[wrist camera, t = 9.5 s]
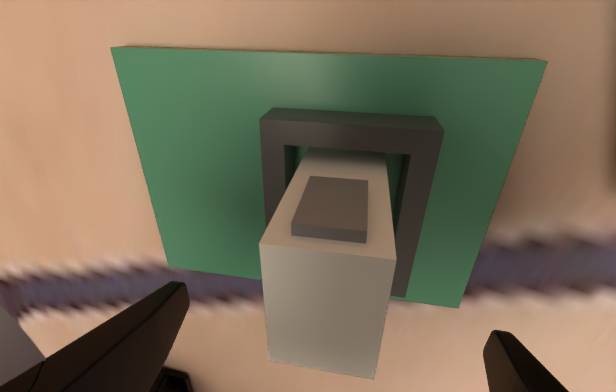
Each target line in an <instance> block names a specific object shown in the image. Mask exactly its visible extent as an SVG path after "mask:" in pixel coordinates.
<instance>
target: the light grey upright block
mask: <svg viewBox="0 0 616 392" xmlns="http://www.w3.org/2000/svg"><path fill="white" fill-rule="evenodd" d="M259 250H260V261H261V272H262V284H263V295H264V306H265V317H266V328H267V340H268V351H269V361H272V362H277V363H283V364H289V365H294V366H300V367H306V368H311V369H317V370H322V371H328V372H334V373H339V374H345V375H351V376H356V377H362V378H368V379H373V380H374V378H375V372H376V367H377V362H378V356H379V351H380V346H381V340H382V335H383V330H384V324H385V319H386V314H387V308H388V303H389V298H390V292H391V287H392V282H393V276H394V271H395V266H396V260H397V258H396V249H395V240H394V231H393V222H392V213H391V204H390V194H389V185H388V176H387V167H386V158H385V153H383V152H370V151H357V150H344V149H331V148H318V147H308V149H307V151H306V153H305V155H304V157H303V159H302V161H301V162H300V164H299V166H298V168H297V170H296V172H295V174H294V176H293V178H292V180H291V182H290V184H289V186H288V188H287V190H286V192H285V194H284V196H283V198H282V199H281V201H280V203H279V205H278V207H277V209H276V211H275V213H274V215H273V217H272V219H271V221H270V223H269V225H268V227H267V229H266V231H265V233H264V235H263V236H262V238H261V240H260V242H259Z"/></svg>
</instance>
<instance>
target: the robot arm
mask: <svg viewBox="0 0 616 392" xmlns="http://www.w3.org/2000/svg"><path fill="white" fill-rule="evenodd" d="M189 304H190V300H189V296H188V291H187V287H186V284H185V283H183V282H178V281H171V282H169V283H167V284H165V285H164V286H162V287H161V288H159V289H157V290H156V291H154V292H153V293H151V294H149V295H148V296H146V297H144V298H143V299H141V300H140V301H138V302H136V303H135V304H133V305H132V306H130V307H128V308H127V309H125V310H123V311H122V312H120V313H119V314H117V315H115V316H114V317H112V318H111V319H109V320H107V321H106V322H104V323H102V324H101V325H99V326H98V327H96V328H94V329H93V330H91V331H90V332H88V333H86V334H85V335H83V336H81V337H80V338H78V339H77V340H75V341H73V342H72V343H70V344H69V345H67V346H65V347H64V348H62V349H60V350H59V351H57V352H56V353H54V354H52V355H51V356H49V357H47V358H46V359H45V361H41V362H39V363H38V364H36V365H34V366H33V367H31V368H30V369H28V370H26V371H25V372H23V373H21V374H20V375H18V376H16V377H15V378H13V379H11V380H10V381H8V382H6V383H5V384H3V385H2V386H0V392H192V389H191V385H190V382H189V379H188V376H187V375H185V374H183V373H179V372H174V371H169V370H164V369H161V368H162V366H163V364H164V362H165V360H166V359H167V357H168V355H169V352H170V350H171V348H172V346H173V343H174V341H175V339H176V336H177V334H178V332H179V329H180V327H181V325H182V322H183V320H184V318H185V315H186V313H187V311H188V308H189ZM483 357H484V363H485V369H486V374H487V380H488V386H489V391H490V392H569V391H568V390H567V389H566V388H565V387H564V386H563V385H562V384H561V383H560V382H559V381H558V380H557V379H556V378H555V377H554V376H553V375H552V374H551V373H550V372H549V371H548V370H547V369H546V368H545V367H544V366H543V365H542V364H541V363H540V362H539V361H538V360H537V359H536V358H535V357H534V356H533V355H532V354H531V353H530V352H529V351H528V350H527V349H526V347H525V346H524V345H523V344H522V343H521V342H520V341H519V340H518V339H517V338H516V337H515V336H514V335H513V334H511V333H510V332H506V331H500V330H493V331H492V332H491V334H490V336H489V338H488V340H487V343H486V345H485V347H484V350H483Z"/></svg>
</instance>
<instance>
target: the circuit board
mask: <svg viewBox="0 0 616 392" xmlns="http://www.w3.org/2000/svg"><path fill="white" fill-rule="evenodd" d="M110 49H111V53H112V56H113V60H114V64H115V67H116V71H117V75H118V79H119V82H120V86H121V90H122V94H123V97H124V101H125V105H126V109H127V112H128V116H129V120H130V123H131V127H132V131H133V135H134V138H135V142H136V146H137V150H138V153H139V157H140V161H141V165H142V168H143V172H144V176H145V179H146V183H147V187H148V191H149V194H150V198H151V202H152V206H153V209H154V213H155V217H156V221H157V224H158V228H159V232H160V235H161V239H162V243H163V247H164V250H165V254H166V258H167V262H168V265H169V267H174V268H181V269H188V270H195V271H202V272H209V273H216V274H223V275H230V276H237V277H244V278H250V279H257V280H262V272H261V261H260V250H259V242H260V240H261V238H262V236H263V235H264V233H265V231H266V229H267V227H268V225H269V223H270V221H271V219H272V217H273V215H274V213H275V211H276V209H277V207H278V205H279V203H280V201H281V199H282V198H283V196H284V194H285V192H286V190H287V188H288V186H289V184H290V182H291V180H292V178H293V176H294V174H295V172H296V170H297V168H298V166H299V164H300V162H301V161H302V159H303V157H304V155H305V153H306V151H307V149H308V147H318V148H331V149H344V150H357V151H370V152H383V153H385V158H386V167H387V176H388V185H389V194H390V204H391V213H392V222H393V231H394V240H395V249H396V258H397V260H396V266H395V271H394V276H393V282H392V287H391V292H390V298H389V299H396V300H403V301H410V302H417V303H424V304H431V305H438V306H445V307H452V308H459V305H460V302H461V300H462V297H463V294H464V291H465V289H466V286H467V283H468V280H469V278H470V275H471V272H472V269H473V267H474V264H475V261H476V258H477V256H478V253H479V250H480V247H481V244H482V242H483V239H484V236H485V233H486V231H487V228H488V225H489V222H490V220H491V217H492V214H493V211H494V209H495V206H496V203H497V200H498V198H499V195H500V192H501V189H502V187H503V184H504V181H505V178H506V176H507V173H508V170H509V167H510V165H511V162H512V159H513V156H514V154H515V151H516V148H517V145H518V143H519V140H520V137H521V134H522V131H523V129H524V126H525V123H526V120H527V118H528V115H529V112H530V109H531V107H532V104H533V101H534V98H535V96H536V93H537V90H538V87H539V85H540V82H541V79H542V76H543V74H544V71H545V68H546V65H547V63H548V61H544V60H539V59H527V58H495V57H463V56H430V55H398V54H366V53H334V52H301V51H269V50H237V49H204V48H172V47H140V46H120V47H110Z"/></svg>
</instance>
